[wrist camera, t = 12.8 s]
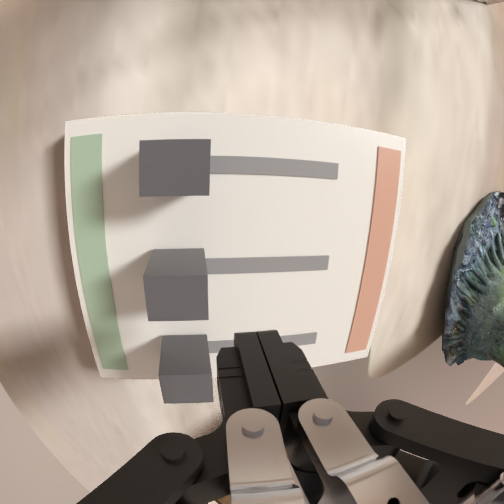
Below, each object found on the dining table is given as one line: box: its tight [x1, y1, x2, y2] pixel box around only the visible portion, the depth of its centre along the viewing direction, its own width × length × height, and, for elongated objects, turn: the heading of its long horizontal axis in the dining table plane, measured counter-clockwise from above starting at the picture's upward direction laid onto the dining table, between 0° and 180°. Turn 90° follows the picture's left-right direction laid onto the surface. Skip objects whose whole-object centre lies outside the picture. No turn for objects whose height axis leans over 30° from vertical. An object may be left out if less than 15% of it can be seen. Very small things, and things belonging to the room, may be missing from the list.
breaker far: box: [158, 334, 213, 403], centre depth 17 cm, size 3×2×4 cm
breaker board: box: [64, 112, 406, 379], centre depth 19 cm, size 22×18×3 cm
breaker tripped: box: [143, 248, 209, 321], centre depth 15 cm, size 3×2×4 cm
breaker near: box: [139, 139, 211, 197], centre depth 13 cm, size 3×2×4 cm
